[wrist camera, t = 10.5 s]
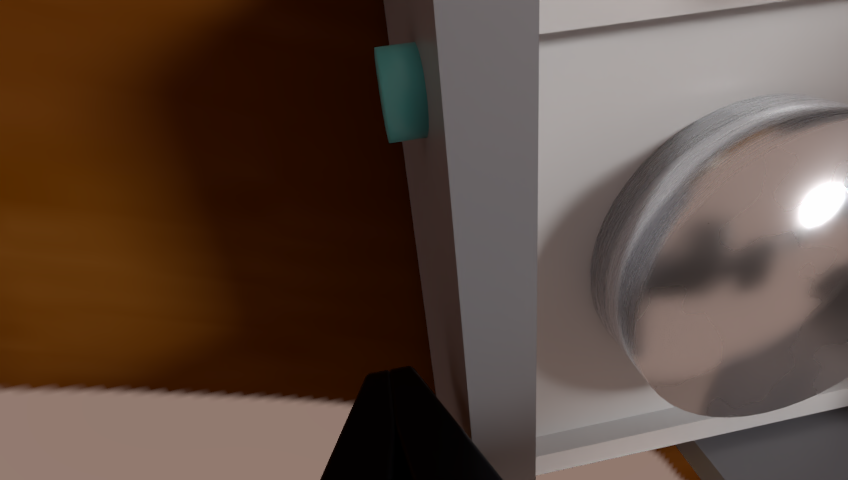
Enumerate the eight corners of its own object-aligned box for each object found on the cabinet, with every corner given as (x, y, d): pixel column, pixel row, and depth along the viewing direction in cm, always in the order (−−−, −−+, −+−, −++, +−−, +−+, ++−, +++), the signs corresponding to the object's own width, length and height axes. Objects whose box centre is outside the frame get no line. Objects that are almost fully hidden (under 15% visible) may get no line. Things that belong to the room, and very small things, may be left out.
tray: (1004, -159, 10) (1682, -317, 5) (802, 380, 17) (991, 537, 12) (343, -89, 8) (349, -202, 4) (429, 461, 15) (470, 671, 11)
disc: (619, 99, 9) (686, 124, 7) (927, 87, 10) (1051, 107, 8) (570, 372, 12) (608, 435, 11) (805, 344, 13) (876, 398, 11)
